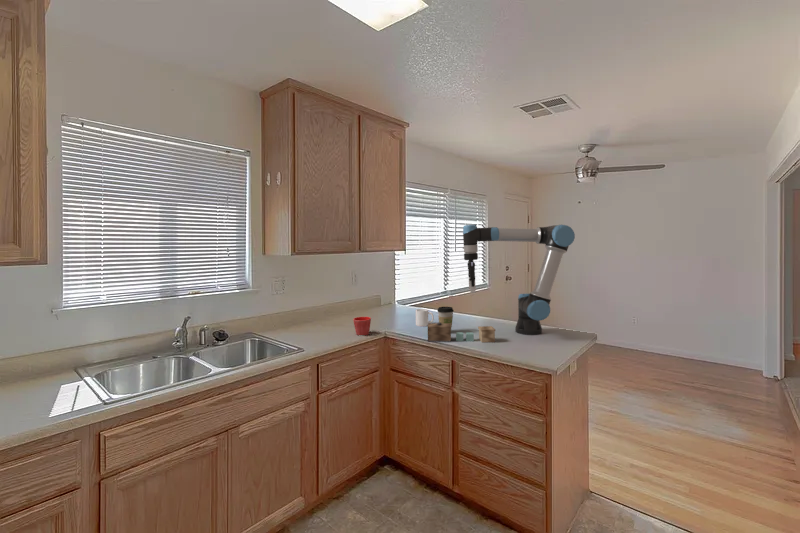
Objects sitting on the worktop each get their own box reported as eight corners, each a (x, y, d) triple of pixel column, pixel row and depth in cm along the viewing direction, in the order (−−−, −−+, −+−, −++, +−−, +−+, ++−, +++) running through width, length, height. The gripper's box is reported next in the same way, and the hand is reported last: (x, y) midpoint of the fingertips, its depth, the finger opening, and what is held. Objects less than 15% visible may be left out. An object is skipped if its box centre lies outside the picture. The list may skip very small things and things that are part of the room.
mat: (449, 337, 218) (449, 337, 218) (449, 342, 210) (449, 341, 210) (430, 337, 220) (430, 336, 220) (429, 341, 211) (429, 341, 211)
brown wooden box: (450, 337, 218) (450, 321, 217) (450, 341, 210) (450, 324, 209) (428, 337, 220) (428, 321, 219) (427, 340, 212) (427, 324, 211)
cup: (417, 323, 257) (417, 308, 256) (435, 324, 253) (434, 309, 252) (414, 326, 249) (414, 311, 248) (432, 327, 245) (432, 311, 244)
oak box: (491, 338, 215) (491, 326, 214) (495, 342, 207) (495, 329, 207) (478, 338, 215) (478, 326, 214) (481, 342, 207) (481, 329, 207)
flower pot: (354, 337, 225) (354, 320, 225) (353, 332, 236) (352, 317, 235) (372, 335, 227) (372, 319, 227) (370, 331, 238) (369, 316, 237)
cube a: (473, 339, 214) (473, 332, 214) (473, 341, 210) (473, 334, 210) (466, 339, 215) (466, 332, 214) (466, 341, 211) (466, 334, 210)
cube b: (463, 339, 215) (463, 332, 215) (463, 341, 211) (463, 334, 211) (456, 339, 215) (455, 332, 215) (456, 341, 212) (455, 334, 211)
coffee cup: (453, 334, 225) (453, 309, 224) (436, 334, 227) (436, 309, 226) (454, 330, 235) (454, 306, 234) (438, 330, 237) (438, 306, 236)
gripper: (463, 252, 225) (464, 287, 226) (464, 254, 200) (466, 294, 202) (475, 251, 224) (477, 287, 225) (479, 253, 199) (481, 293, 201)
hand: (472, 290), depth 214 cm, fingers open, 13 cm apart
